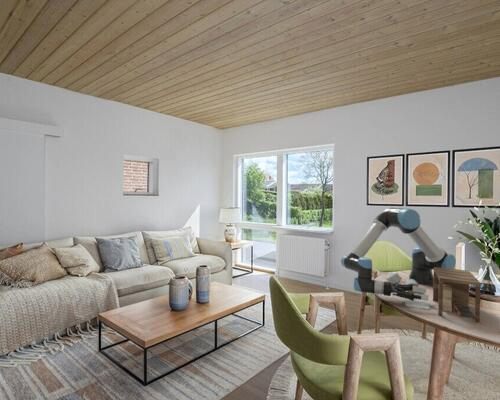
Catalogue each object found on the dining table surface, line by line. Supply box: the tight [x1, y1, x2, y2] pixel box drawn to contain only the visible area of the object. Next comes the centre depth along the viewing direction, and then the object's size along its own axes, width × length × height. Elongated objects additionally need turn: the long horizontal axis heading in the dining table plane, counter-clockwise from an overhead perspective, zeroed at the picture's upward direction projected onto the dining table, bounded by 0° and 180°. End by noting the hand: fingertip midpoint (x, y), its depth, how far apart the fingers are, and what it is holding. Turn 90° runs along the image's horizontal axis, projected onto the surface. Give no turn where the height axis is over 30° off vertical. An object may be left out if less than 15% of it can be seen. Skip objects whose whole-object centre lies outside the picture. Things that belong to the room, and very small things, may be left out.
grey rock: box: [385, 271, 402, 286], centre depth 195 cm, size 8×9×10 cm
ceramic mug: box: [404, 278, 425, 295], centre depth 177 cm, size 10×8×7 cm
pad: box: [404, 298, 431, 310], centre depth 159 cm, size 12×11×1 cm
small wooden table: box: [432, 267, 482, 324], centre depth 151 cm, size 25×16×18 cm, turn 154°
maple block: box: [437, 284, 452, 312], centre depth 153 cm, size 5×5×12 cm
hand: (427, 294), depth 156 cm, fingers open, 13 cm apart
